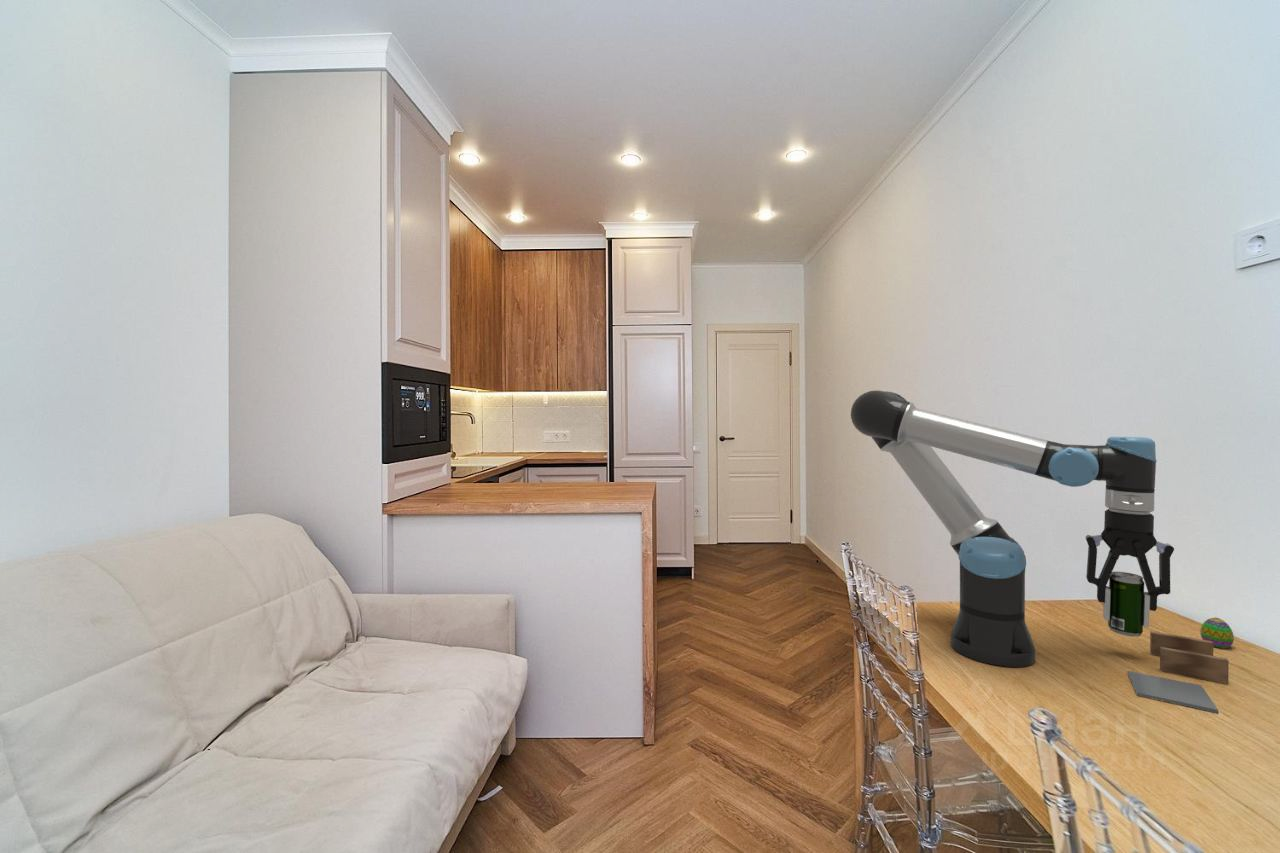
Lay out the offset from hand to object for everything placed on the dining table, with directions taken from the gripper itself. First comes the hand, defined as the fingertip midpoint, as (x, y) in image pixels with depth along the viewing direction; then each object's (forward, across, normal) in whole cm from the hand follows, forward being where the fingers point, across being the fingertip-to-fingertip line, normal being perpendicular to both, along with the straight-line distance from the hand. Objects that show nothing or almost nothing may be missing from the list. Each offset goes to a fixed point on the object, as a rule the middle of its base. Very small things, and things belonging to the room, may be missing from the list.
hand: (1125, 621), depth 110 cm
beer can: (+2, 0, 0) cm, 2 cm away
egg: (+7, +17, +18) cm, 26 cm away
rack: (+7, +9, 0) cm, 12 cm away
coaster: (+7, +4, -15) cm, 17 cm away
